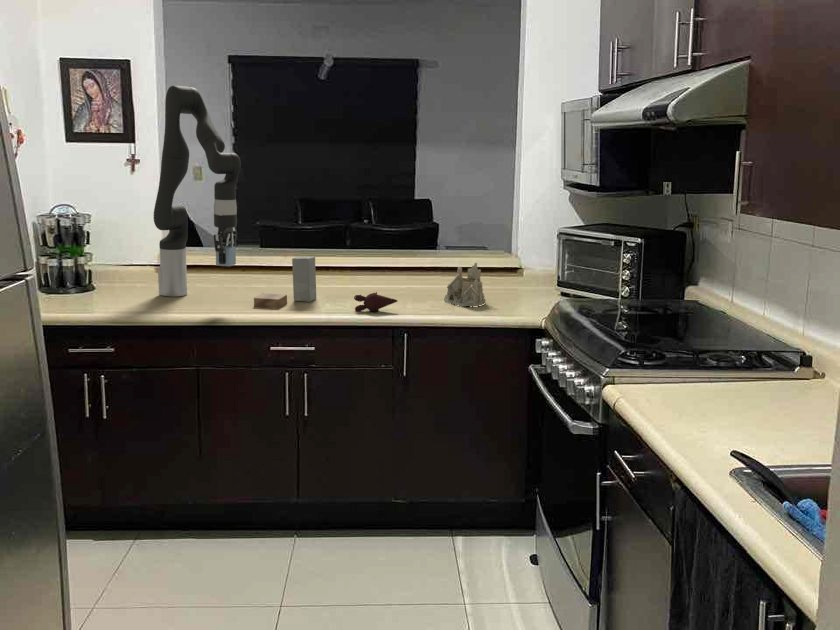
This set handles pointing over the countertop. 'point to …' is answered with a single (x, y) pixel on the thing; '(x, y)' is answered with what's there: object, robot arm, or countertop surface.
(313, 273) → the skincare box
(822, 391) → the countertop surface
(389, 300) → the icecream
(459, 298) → the ceramic cottage
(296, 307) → the countertop surface
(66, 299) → the countertop surface
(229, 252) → the blue block
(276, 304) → the walnut base
